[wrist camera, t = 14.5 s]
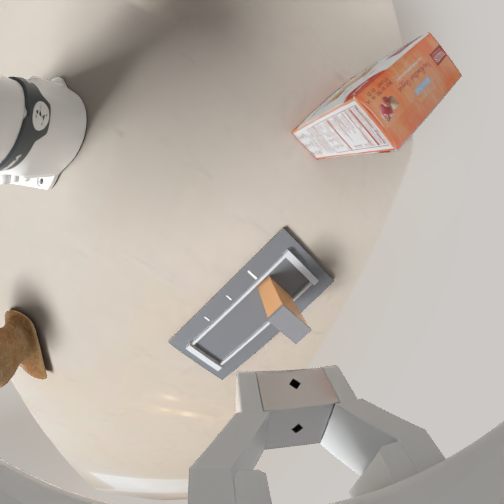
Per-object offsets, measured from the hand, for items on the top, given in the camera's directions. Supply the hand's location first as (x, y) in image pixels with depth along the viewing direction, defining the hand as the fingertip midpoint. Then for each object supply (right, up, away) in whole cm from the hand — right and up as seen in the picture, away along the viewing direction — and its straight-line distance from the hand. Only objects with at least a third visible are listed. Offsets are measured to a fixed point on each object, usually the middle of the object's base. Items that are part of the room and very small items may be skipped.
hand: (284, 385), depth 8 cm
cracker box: (+11, +24, +29) cm, 40 cm away
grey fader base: (-1, -6, +36) cm, 36 cm away
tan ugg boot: (-49, -14, +33) cm, 61 cm away
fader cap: (+2, -2, +35) cm, 36 cm away
